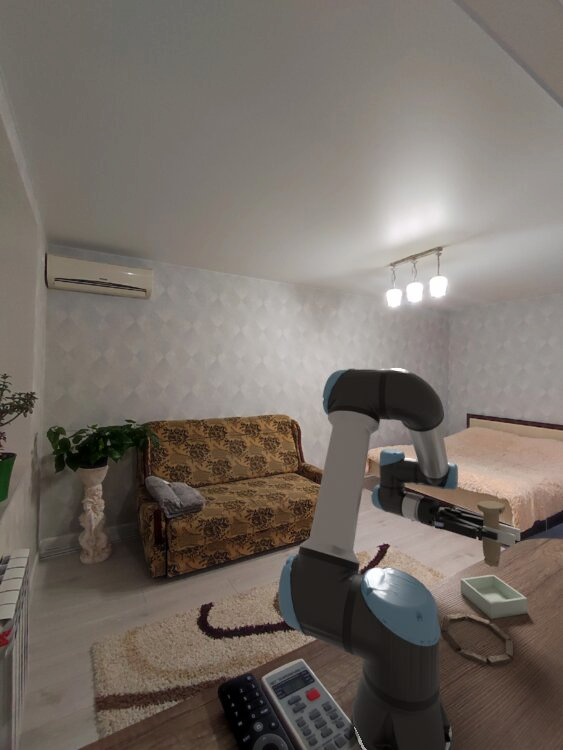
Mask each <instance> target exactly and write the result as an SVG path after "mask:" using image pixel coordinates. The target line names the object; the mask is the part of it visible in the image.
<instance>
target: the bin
mask: <svg viewBox="0 0 563 750" xmlns="http://www.w3.org/2000/svg"><path fill="white" fill-rule="evenodd" d="M460 593H461V594H462V595H463V596H465V597H466V598H467V599H468V600H469V601H470V602H471V603H472V604H473V605H475V606H476V607H477V608H478V609H479V610H480V611H481V612H483V613H484V614H485V615H486V616H487V617H488V618H490V619H491V620H493V619H499V618H505V617H512V616H519V615H523V614H528V598H527V597H526V596H524V595H523V594H522V593H520V592H519V591H518V590H516V589H515V588H514V587H512V586H511V585H509V584H507V583H506V582H505V581H504V580H502V579H501V578H499V577H498V576H496V575H495V574H487V575H480V576H473V577H471V576H470V577H466V578H460Z"/></svg>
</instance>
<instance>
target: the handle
mask: <svg viewBox="0 0 563 750" xmlns="http://www.w3.org/2000/svg"><path fill="white" fill-rule="evenodd" d="M477 509H478V510H479V511H480V512H482V513H483V514H482V515H484V519H483V526H487V527H491V528H494V529H497V530H500V527H499V523H500V515H501V514H503V513H504V511H506V505H505V504H504V503H503V502H499V501H496V500H482V501H479V502H477ZM481 542H482V553H483V557H484V558H483V561H484V563H485V565H487V566H489V567H494V568H498V567H499V565H500V559H501V553H502V552H501V551H502V543H499V542H496V541H493V540H490V539H487V538H484V537H483V536H482V541H481Z"/></svg>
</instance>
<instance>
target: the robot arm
mask: <svg viewBox="0 0 563 750" xmlns="http://www.w3.org/2000/svg"><path fill="white" fill-rule="evenodd" d="M322 391H323V392H322V398H323V400H322V407H323V411H324V413H325V414H326V415H327V421H328V422H329V423H330V424H331V427H332V428H331V433H330V438H329V442H328V447H327V452H326V457H325V462H324V467H323V472H322V476H321V480H320V487H319V489H318V490H319V491H318V496H317V500H316V505H315V511H314V514H313V520H312V524H311V529H310V535H309V538H307V539H306V540H305V541H303V542H302V543H300V544H299V549H298V553H295V554H291V555H290V556H289V557H288V558H287V559H286V560H285V564H284V565H283V566H282V569H281V573H280V576H279V581H278V592H277V593H278V605H279V606H278V607H279V610H280V614H281V616H282V618H283V621H284V622H285V624H287V625H288V626H289V627H291V628H293V630H296V631H299V632H300V633H301V634H302V635H303V636H306V637H312V638H313V639H316V640H318V641H321V642H323V643H325V644H327V645H330V646H332V647H334V648H336V649H338V650H341V651H343V652H345V653H347V654H351V655H353V656H355V657H357V658H359V659H362V673H361V676H360V678H359V682H358V685H357V687H356V691H355V693H354V694H353V695H354V696H353V701H352V709H351V711H352V726H353V725H354V727H355V728H356V730H357V732H358V734H359V736H360V738H361V740H362V743H363V745H364V747H365V748H366V749H367V750H454V737H453V736H454V735H453V730H452V725H451V722H450V718H449V715H448V712H447V709H446V706H445V703H444V701H443V697H442V694H441V692H440V689H441V687H440V685H441V683H440V680H441V679H440V637H441V627H440V622H439V610H438V605H437V602H436V599H435V597H434V596H433V594H432V593H431V591H430V590H429V589H428V588H427V586H426V585H425V584H424V583H423V582H421V581H420V580H419V579H418V578H416V577H414V576H413V575H411V574H410V573H408V572H405V571H403V570H400V569H397V568H393V567H389V566H383V568H381V567H380V566H375V567H372V568H369V569H368V570H366V571H365V572H364V573H360V565H361V564H360V563H361V562H360V560H359V558H358V556H357V555H356V554H355V552H354V551H355V550H354V547H355V540H356V536H357V535H356V533H357V528H358V527H357V526H358V520H359V514H360V508H361V507H360V506H361V500H362V495H363V487H364V480H365V475H366V467H367V462H368V461H367V460H368V455H369V448H370V441H371V435H372V434H374V433H375V432H377V431H378V430H379V429H380V423H381V422H380V421H381V420H386V421H388V420H389V421H392V420H394V421H400V422H401V424H402V425H403V427H405V428H406V429H408V433H409V436H410V438H411V442H412V446H413V448H414V453H415V455H416V458H410V457H406V456H405V454H406V453H405V452H404V451H403V450H401V449H397V448H386V449H383V450H381V451H380V452H379V464H378V466H379V484H376V485H375V486H374V487H373V489H372V493H371V503H372V505H373V506H374V507H375V508H377V509H379V510H381V511H383V512H385V513H389V514H392V515H396V516H400V517H402V518H405V519H408V520H411V522H417V523H420V524H423V525H426V526H427V527H428V526H429V527H431V528H433V527H434V529H438V530H443V531H447V532H449V533H453V534H456V535H460V536H463V537H467V538H469V539H474V540H477V538H478V540H477V541H480V542H482V537H484V538H487V539H490V540H493V541H496V542H499V543H501V545H502V544H503V545H507V546H509V547H512V548H515V547H516V541H518V542H520V541H521V529H520V528H517V527H513V526H511V525H510V526H509V525H507V524H503V523H500V522H499V527H500V530H497V529H494V528H491V527H487V526H483V519H484V514H481V513H477V512H474V511H471V510H467V509H464V508H461V507H459V506H457V505H454V506H453V508H451V507H448V506H447V507H446V506H444V507H443V506H441V504H440V502H439V500H438V499H435V498H432V497H429V496H423V495H422V494H418V493H417V494H416V493H414V492H409V491H406V490H405V489H406V484H409V485H415V486H416V485H418V486H422V487H429V488H434V489H435V488H436V489H441V490H453V491H454V490H456V489H457V488H458V484H459V470H458V469H459V468H458V467H459V466H457V464H455V463H454V462H449V461H448V456H447V450H446V444H445V443H446V442H445V438H444V432H443V426H442V423H443V421H444V418H445V411H444V405H443V402H442V400H441V398H440V395H439V394H438V393H437V392H436V390H435V389H434V388H433V386H431V385H430V383H428V382H427V381H426V380H425V379H423V378H422V377H421V376H419V375H418V374H416V373H414V372H412V371H410V370H408V369H403V368H398V367H391V368H361V369H359V368H358V369H357V368H347V369H338V370H336V371H334V372H332V373H331V374H330V375H329V377H328V378H327V380H326V382H325V385H324V387H323V390H322Z"/></svg>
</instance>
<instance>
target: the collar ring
mask: <svg viewBox="0 0 563 750" xmlns="http://www.w3.org/2000/svg"><path fill="white" fill-rule="evenodd" d="M445 616H446V617H445ZM445 616H444V617H443V619H442V622H441V627H440V634H441V636H442V638H443V639H444V640H445V641H446V642H447V643H448V645H449V646H450V647H451V648H452V649H453V650H454V651H455V653H457V652H460V656H462V657H463V658H467V659H469V660H471V661H474V662H476V663H479V664H481V665H484V666H487V663H488V664H489V665H490V667H494V666H501V665H504V664H505V665H506V664H511V661H514V645H513V644H514V642H513V641H512V639H511V637H510V636H509V635H507V633H505V632H504V631H503V630H502V629H501V628H499V627H498V625H497V624H496V623H490V620H488V619H485V618H482V617H479V616H477V615H473V614H470V613H467V615H466V614H465V613H464V612H459V613H455V614H454V613H453V614H448V615H445ZM461 621H469V622H472V623H474V624H478V625H480V626H484V627H487V628H489V629H490V630H491V631H492V632H493V633H495V634H496V635H497V637H499V638H500V639H501V640H502V641H503V642H504V643H505V653H501V654H496V655H491V656H484V655H482V654H479V653H477V652H474V651H472V650H469V649H467V648H464V647H462V646H460V644H459V643H458V642H457V641H456V640H455V638H453V636H451V634H450V633H449V632H448V631H449V627H450V623H451V624H452V623H456V622H461Z"/></svg>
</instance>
